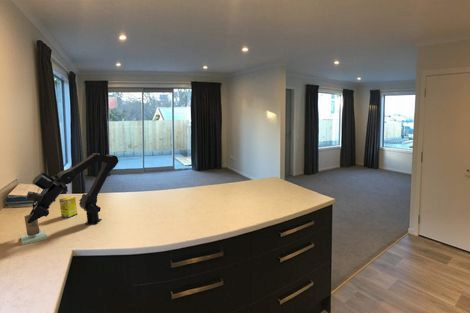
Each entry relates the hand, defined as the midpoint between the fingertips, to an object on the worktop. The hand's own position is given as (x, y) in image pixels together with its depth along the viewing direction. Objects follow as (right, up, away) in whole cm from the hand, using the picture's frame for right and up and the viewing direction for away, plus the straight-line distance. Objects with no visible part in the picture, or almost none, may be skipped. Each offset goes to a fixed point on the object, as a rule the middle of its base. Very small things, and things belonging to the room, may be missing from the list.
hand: (28, 221), depth 147 cm
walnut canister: (+1, -6, +2) cm, 7 cm away
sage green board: (+1, -9, +2) cm, 9 cm away
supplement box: (+3, -4, +32) cm, 32 cm away
